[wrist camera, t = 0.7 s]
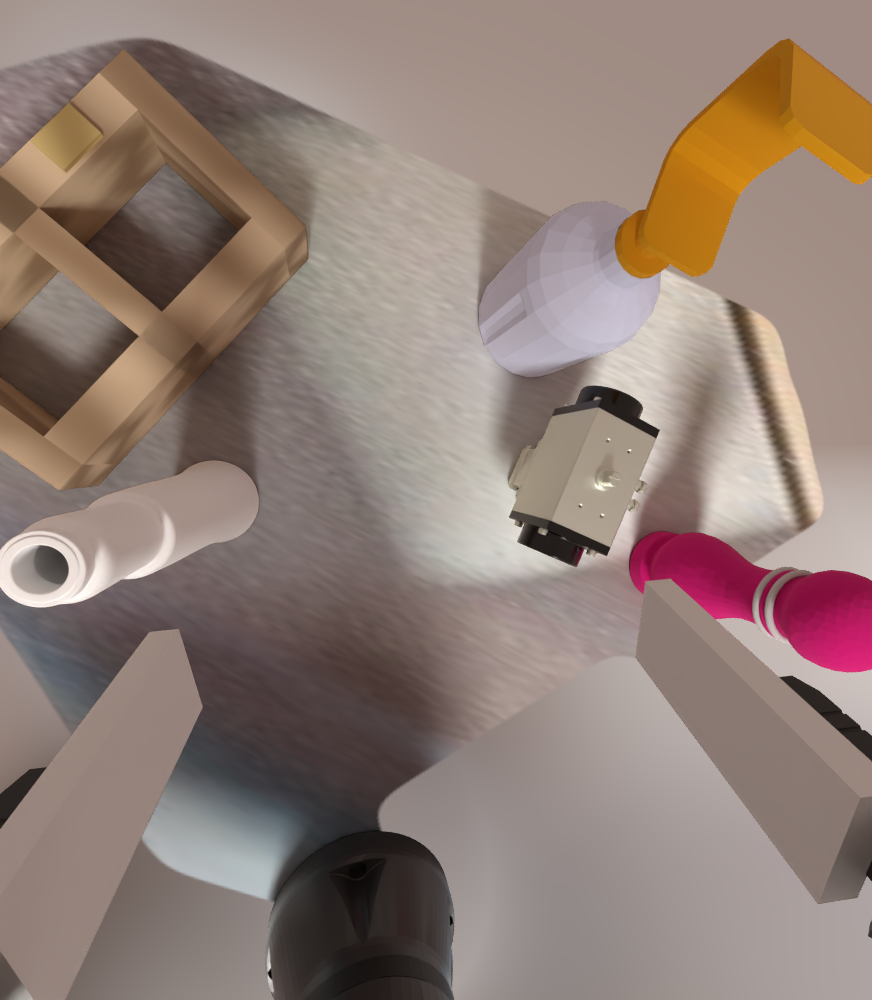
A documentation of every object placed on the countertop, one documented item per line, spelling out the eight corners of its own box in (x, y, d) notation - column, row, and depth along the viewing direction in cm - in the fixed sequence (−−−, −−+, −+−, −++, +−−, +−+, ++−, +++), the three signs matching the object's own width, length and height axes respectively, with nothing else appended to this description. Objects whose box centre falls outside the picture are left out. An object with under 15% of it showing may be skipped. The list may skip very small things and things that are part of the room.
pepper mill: (700, 538, 45) (988, 599, 25) (675, 610, 45) (944, 725, 25) (639, 515, 43) (899, 561, 23) (613, 590, 43) (852, 697, 24)
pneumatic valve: (480, 526, 39) (546, 554, 28) (534, 399, 40) (622, 373, 28) (535, 550, 41) (620, 586, 29) (587, 426, 41) (692, 413, 29)
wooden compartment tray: (98, 485, 33) (55, 490, 27) (-87, 352, 30) (-174, 329, 24) (308, 258, 34) (305, 223, 29) (154, 112, 31) (121, 44, 26)
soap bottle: (461, 352, 38) (695, 168, 14) (499, 246, 38) (799, -119, 14) (555, 395, 40) (896, 299, 16) (591, 295, 40) (985, 52, 16)
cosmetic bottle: (196, 556, 34) (-11, 713, 13) (153, 482, 33) (-148, 523, 12) (273, 519, 35) (198, 609, 14) (234, 446, 34) (88, 425, 13)
